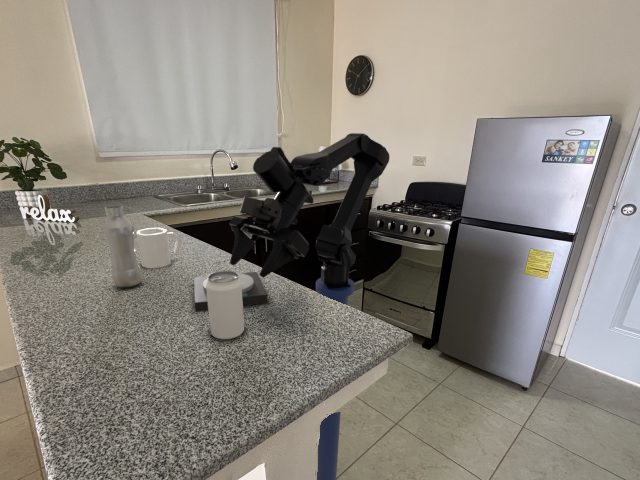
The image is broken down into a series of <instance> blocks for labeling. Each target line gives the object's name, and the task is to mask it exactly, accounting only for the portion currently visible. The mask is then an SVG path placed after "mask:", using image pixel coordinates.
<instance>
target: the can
mask: <svg viewBox="0 0 640 480" xmlns="http://www.w3.org/2000/svg"><path fill="white" fill-rule="evenodd" d="M237 273H238V272H236V271H232V270H218V271H214V272H212V273H209V274H208V275H207V276H208V281H207V284H206V291H207V301H208V310H207V311H208V320H209V326H210V327H209V328H210V334H211V336H213V337H214V338H216V339H218V340H223V341H225V340H226V341H227V340H233V339H235V338H238V337H239V336H241V335H243V332H244V331H245V317H244V316H245V315H244V306H243V301H242V287H241V281H240V279H239V278H238V276H239V275H238V274H237Z"/></svg>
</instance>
